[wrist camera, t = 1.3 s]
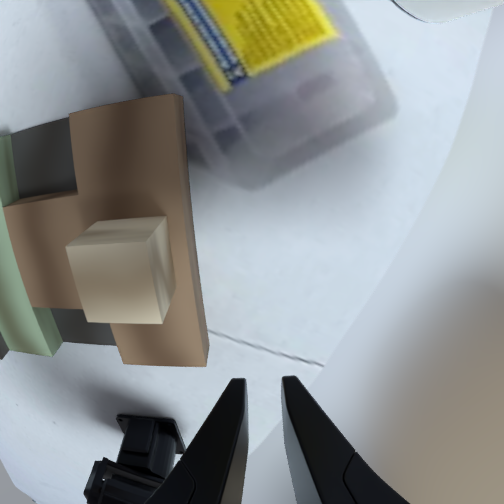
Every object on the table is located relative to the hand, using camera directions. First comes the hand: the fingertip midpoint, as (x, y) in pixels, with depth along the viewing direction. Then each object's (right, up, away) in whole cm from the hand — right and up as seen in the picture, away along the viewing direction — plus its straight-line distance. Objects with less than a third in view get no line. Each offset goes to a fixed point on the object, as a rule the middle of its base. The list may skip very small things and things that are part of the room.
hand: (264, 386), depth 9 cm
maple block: (-7, +4, +10) cm, 13 cm away
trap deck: (-14, +5, +12) cm, 19 cm away
